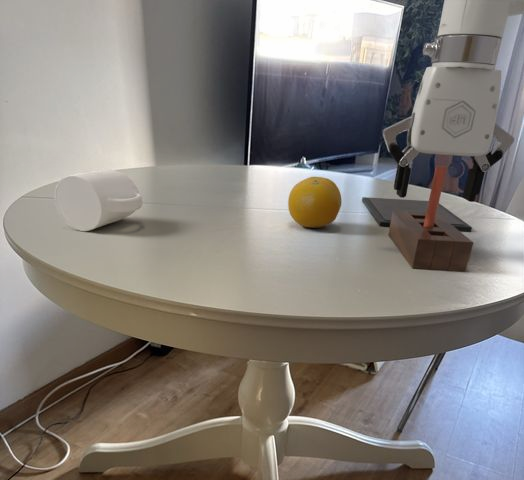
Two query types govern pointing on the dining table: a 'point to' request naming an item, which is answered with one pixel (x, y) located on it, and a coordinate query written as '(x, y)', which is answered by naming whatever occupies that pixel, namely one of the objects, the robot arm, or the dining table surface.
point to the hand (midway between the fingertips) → (434, 197)
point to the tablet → (385, 207)
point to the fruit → (314, 202)
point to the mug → (96, 198)
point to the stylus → (435, 196)
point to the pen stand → (429, 242)
